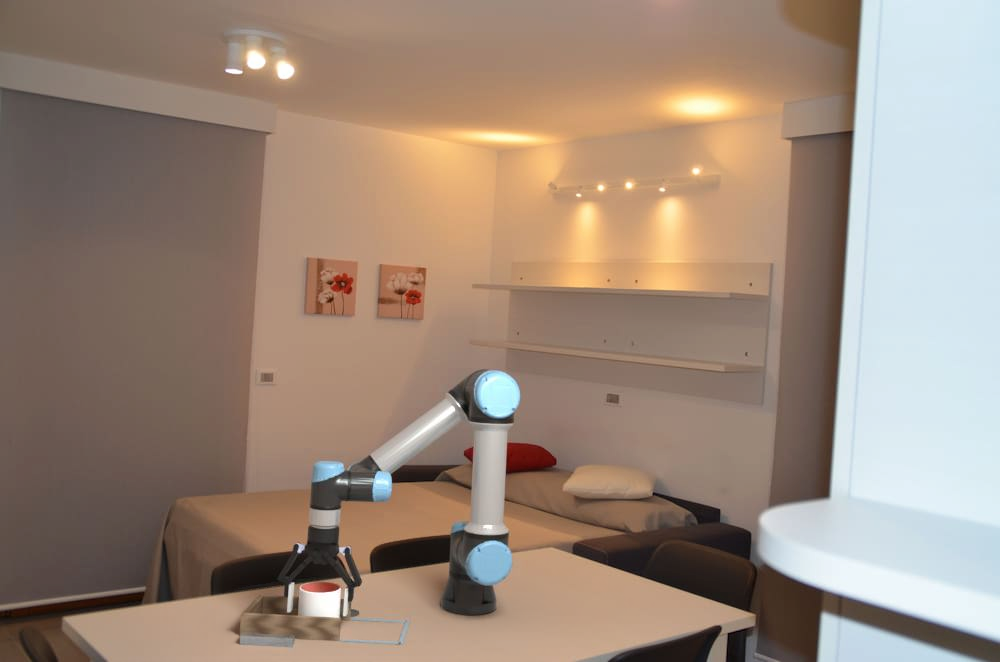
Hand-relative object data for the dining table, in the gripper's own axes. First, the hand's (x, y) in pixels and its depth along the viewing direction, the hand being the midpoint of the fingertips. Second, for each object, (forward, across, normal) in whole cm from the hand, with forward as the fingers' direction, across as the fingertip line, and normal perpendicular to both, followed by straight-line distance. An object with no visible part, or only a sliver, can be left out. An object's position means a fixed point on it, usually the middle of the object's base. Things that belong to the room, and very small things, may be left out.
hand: (317, 612), depth 211 cm
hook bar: (+4, +9, +13) cm, 16 cm away
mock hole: (+4, -5, -13) cm, 15 cm away
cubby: (+4, +5, 0) cm, 6 cm away
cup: (+4, 0, 0) cm, 4 cm away
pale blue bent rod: (+4, -14, 0) cm, 15 cm away
